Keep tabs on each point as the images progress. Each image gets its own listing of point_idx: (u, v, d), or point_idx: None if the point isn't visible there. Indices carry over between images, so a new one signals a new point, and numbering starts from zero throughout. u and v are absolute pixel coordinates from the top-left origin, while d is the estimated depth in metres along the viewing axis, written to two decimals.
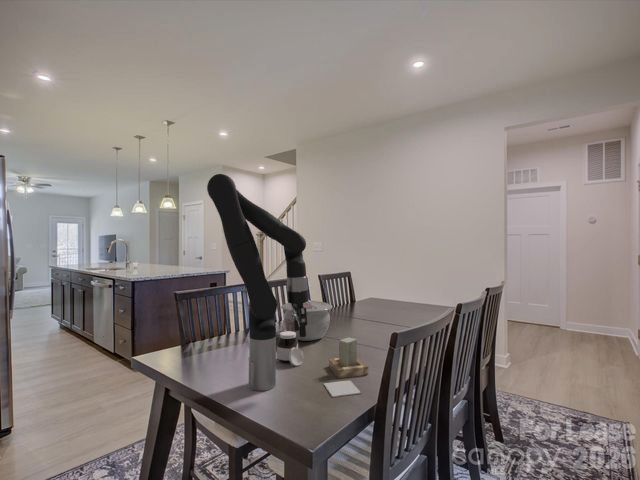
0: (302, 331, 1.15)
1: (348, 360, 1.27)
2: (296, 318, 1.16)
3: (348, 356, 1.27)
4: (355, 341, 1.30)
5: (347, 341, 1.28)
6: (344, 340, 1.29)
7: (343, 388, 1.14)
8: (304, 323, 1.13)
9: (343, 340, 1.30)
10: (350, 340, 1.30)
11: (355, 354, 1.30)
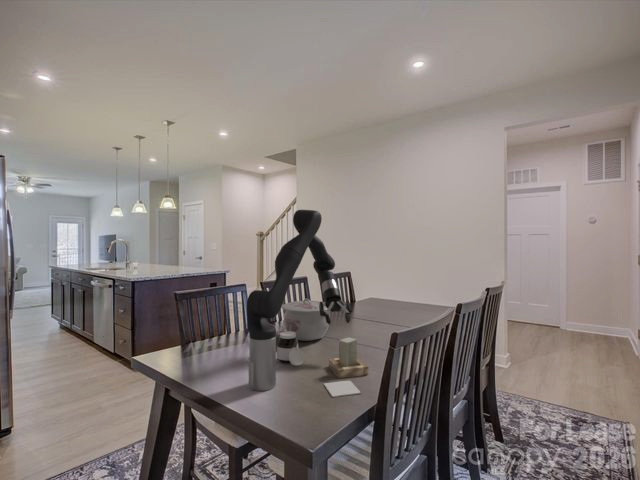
0: None
1: (348, 360, 1.27)
2: (344, 307, 1.46)
3: (348, 356, 1.27)
4: (355, 341, 1.30)
5: (347, 341, 1.28)
6: (344, 340, 1.29)
7: (343, 388, 1.14)
8: None
9: (343, 340, 1.30)
10: (350, 340, 1.30)
11: (355, 354, 1.30)
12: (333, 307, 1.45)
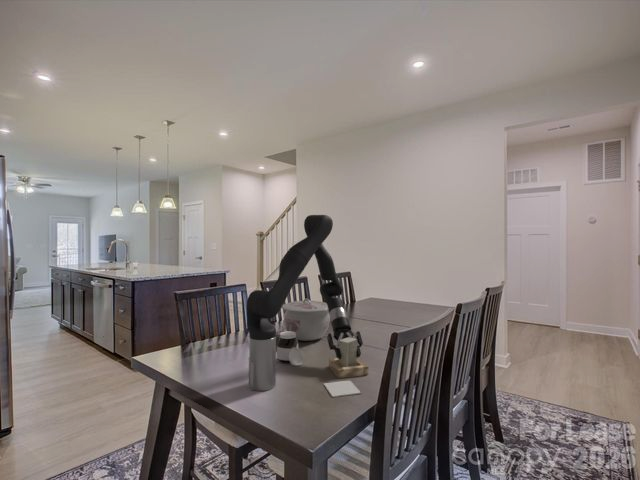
0: None
1: (348, 360, 1.27)
2: None
3: (348, 356, 1.27)
4: (355, 341, 1.30)
5: (347, 341, 1.28)
6: (344, 340, 1.29)
7: (343, 388, 1.14)
8: None
9: (343, 340, 1.30)
10: (350, 340, 1.29)
11: (355, 354, 1.30)
12: None
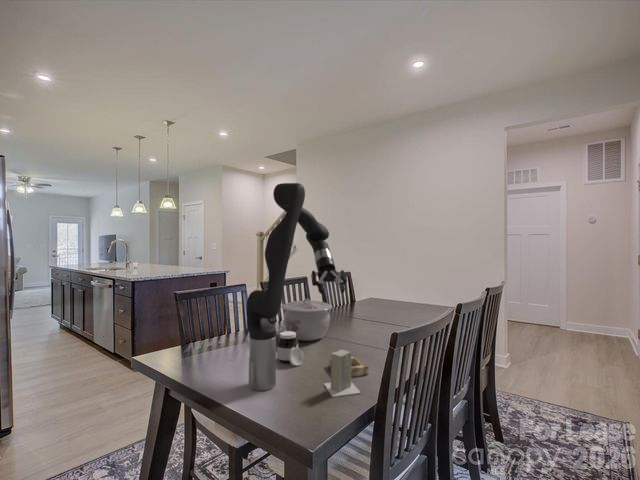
0: None
1: (341, 376, 1.11)
2: (338, 276, 1.35)
3: (341, 372, 1.11)
4: (349, 354, 1.14)
5: (340, 354, 1.12)
6: (337, 353, 1.13)
7: None
8: None
9: (335, 353, 1.13)
10: (343, 353, 1.13)
11: (349, 369, 1.14)
12: (326, 276, 1.34)
